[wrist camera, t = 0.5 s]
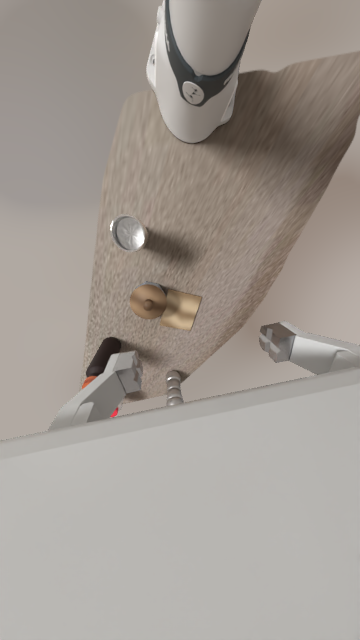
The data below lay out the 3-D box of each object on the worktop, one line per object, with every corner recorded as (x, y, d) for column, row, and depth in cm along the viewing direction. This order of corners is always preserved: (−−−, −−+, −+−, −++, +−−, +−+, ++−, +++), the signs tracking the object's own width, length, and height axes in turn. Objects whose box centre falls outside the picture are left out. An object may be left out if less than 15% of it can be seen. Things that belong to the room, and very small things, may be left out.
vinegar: (116, 353, 61) (99, 399, 44) (99, 346, 59) (74, 392, 41) (124, 341, 59) (109, 384, 42) (106, 333, 57) (83, 376, 39)
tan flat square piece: (168, 289, 52) (168, 289, 51) (201, 296, 54) (201, 297, 54) (159, 324, 58) (159, 325, 57) (190, 330, 60) (190, 330, 60)
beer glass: (148, 220, 42) (142, 211, 29) (151, 248, 45) (148, 251, 32) (122, 221, 42) (104, 213, 28) (127, 250, 45) (114, 254, 32)
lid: (133, 280, 44) (130, 283, 41) (170, 289, 47) (171, 293, 43) (128, 314, 49) (125, 320, 45) (162, 320, 51) (162, 326, 48)
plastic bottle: (173, 381, 72) (177, 427, 55) (162, 374, 70) (163, 420, 52) (182, 373, 71) (190, 417, 53) (172, 366, 68) (176, 411, 50)
